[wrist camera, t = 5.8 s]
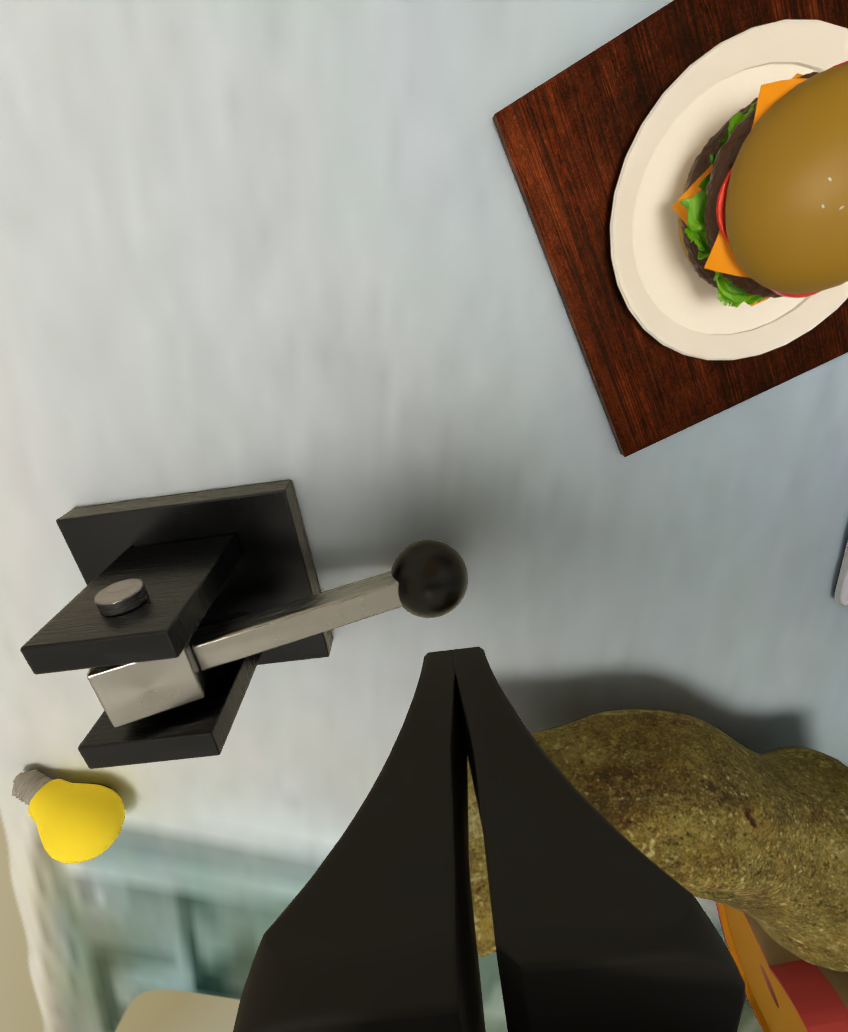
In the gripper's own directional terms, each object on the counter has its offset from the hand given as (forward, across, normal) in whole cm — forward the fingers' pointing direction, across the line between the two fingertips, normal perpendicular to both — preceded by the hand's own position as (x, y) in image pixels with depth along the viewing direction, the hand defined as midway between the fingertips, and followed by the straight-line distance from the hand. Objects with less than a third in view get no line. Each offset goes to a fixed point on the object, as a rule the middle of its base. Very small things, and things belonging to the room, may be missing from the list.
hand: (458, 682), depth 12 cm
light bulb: (+8, +20, +12) cm, 25 cm away
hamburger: (+10, -11, -9) cm, 17 cm away
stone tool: (+4, -6, +19) cm, 20 cm away
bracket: (+10, +10, +2) cm, 14 cm away
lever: (+7, +6, +2) cm, 9 cm away
